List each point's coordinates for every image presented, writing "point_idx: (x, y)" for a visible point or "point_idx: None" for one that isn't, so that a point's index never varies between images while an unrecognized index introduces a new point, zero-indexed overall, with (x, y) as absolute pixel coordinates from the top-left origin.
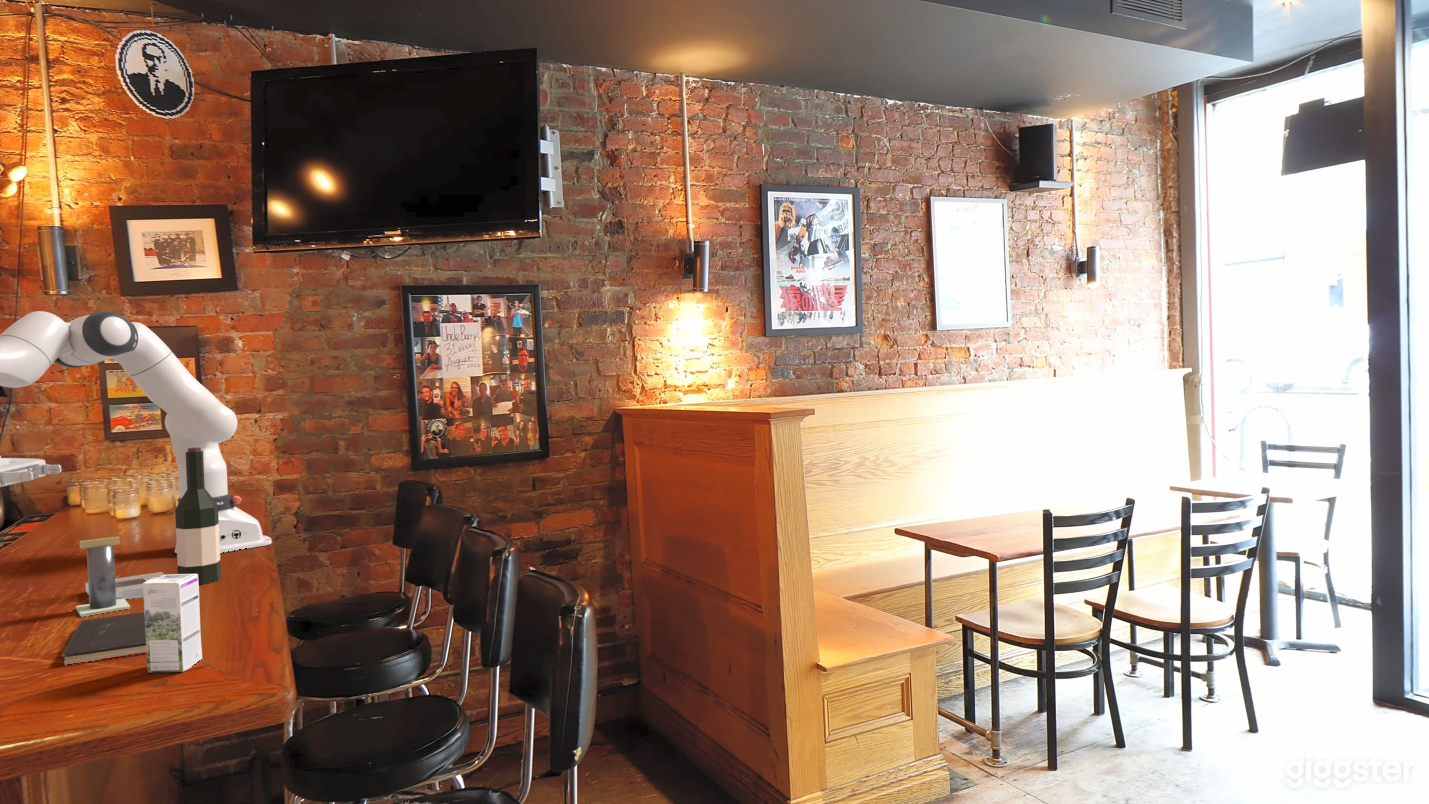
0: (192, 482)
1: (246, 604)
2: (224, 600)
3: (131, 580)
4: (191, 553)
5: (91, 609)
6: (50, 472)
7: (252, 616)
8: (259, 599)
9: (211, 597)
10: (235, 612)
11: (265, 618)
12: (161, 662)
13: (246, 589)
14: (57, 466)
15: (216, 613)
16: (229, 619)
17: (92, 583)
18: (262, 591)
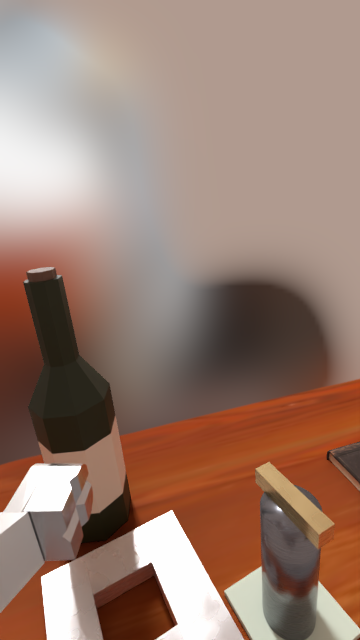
0: (73, 344)
1: (269, 417)
2: (246, 441)
3: (98, 620)
4: (120, 465)
5: (319, 624)
6: (76, 533)
7: (321, 401)
8: (247, 413)
9: (225, 460)
10: (306, 417)
11: (328, 391)
12: None
13: (189, 436)
14: (76, 464)
15: (311, 431)
16: (336, 413)
17: (318, 580)
18: (207, 420)
